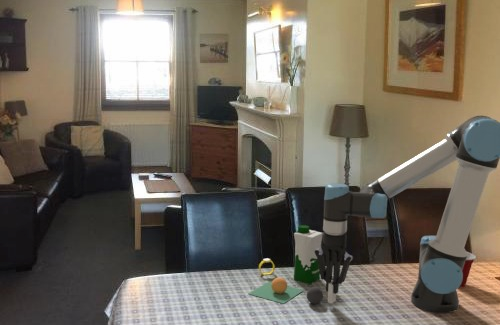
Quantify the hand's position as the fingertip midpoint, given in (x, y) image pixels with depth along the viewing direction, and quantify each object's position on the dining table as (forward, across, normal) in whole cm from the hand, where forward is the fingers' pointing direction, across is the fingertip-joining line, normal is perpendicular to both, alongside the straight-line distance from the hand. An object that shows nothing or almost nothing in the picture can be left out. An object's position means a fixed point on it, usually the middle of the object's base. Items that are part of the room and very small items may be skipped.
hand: (331, 301), depth 184 cm
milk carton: (+2, +18, -17) cm, 25 cm away
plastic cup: (+2, -29, -46) cm, 54 cm away
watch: (+2, +33, -13) cm, 36 cm away
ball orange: (-1, +20, 0) cm, 20 cm away
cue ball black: (-1, +6, 0) cm, 6 cm away
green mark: (+2, +21, 0) cm, 21 cm away
